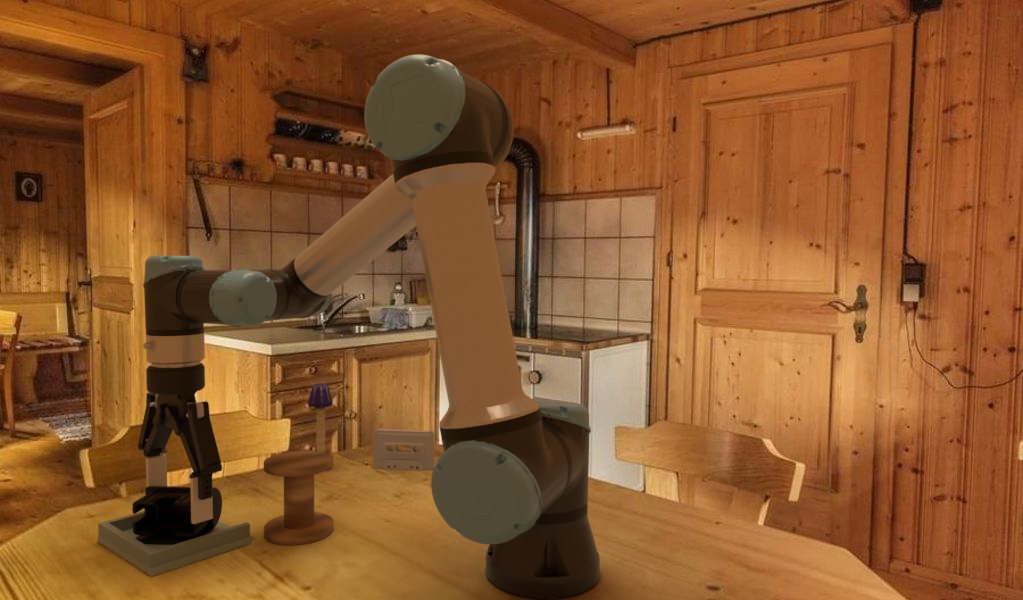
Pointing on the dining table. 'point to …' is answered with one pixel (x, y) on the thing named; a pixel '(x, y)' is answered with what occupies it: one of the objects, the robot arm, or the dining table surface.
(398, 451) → the cassette
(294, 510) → the bobbin spool
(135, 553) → the olive grey tray
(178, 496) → the end cap
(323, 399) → the toy lamp
